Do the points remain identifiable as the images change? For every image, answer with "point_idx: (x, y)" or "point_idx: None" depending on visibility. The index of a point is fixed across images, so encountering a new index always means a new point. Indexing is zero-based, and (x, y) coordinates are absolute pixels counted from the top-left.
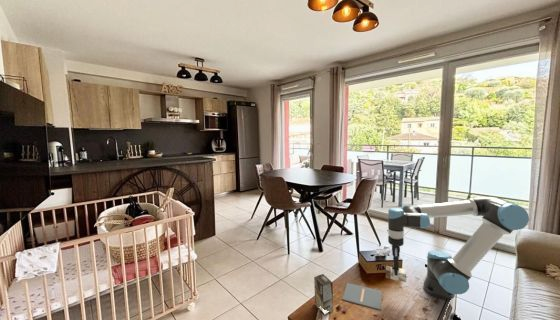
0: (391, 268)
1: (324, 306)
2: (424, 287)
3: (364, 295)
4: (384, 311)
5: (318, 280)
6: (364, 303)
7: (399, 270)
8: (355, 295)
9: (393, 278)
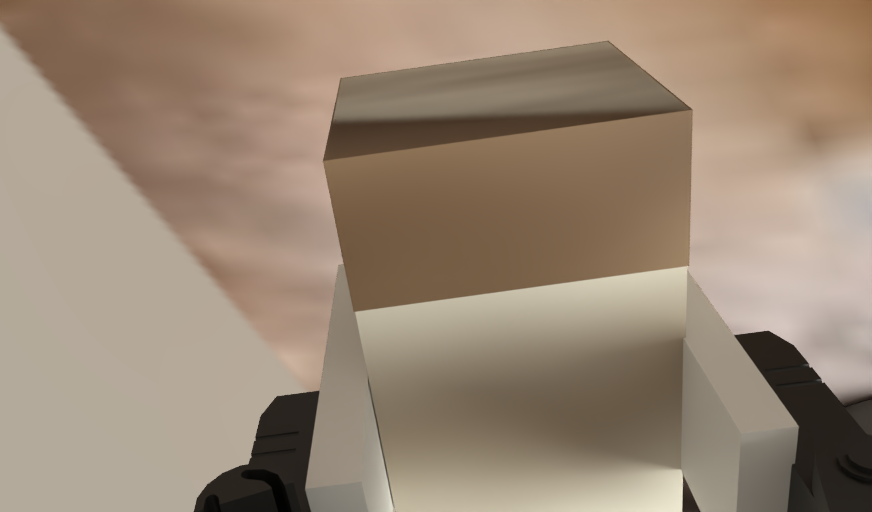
0: (556, 309)
1: None
2: (865, 422)
3: None
4: (82, 8)
5: None
6: None
7: (540, 507)
8: None
9: (338, 287)
